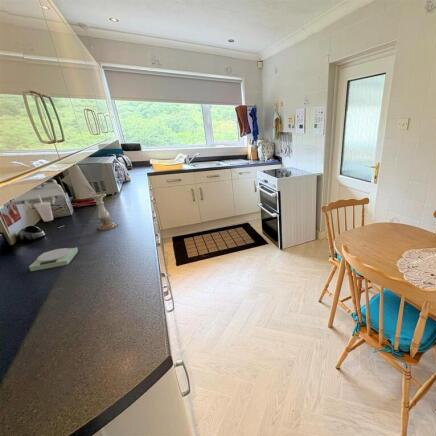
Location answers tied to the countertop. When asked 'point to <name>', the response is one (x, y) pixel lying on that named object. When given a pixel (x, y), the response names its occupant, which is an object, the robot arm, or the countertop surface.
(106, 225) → the candle holder
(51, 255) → the scale
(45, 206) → the smoothie
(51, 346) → the countertop surface
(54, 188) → the robot arm
